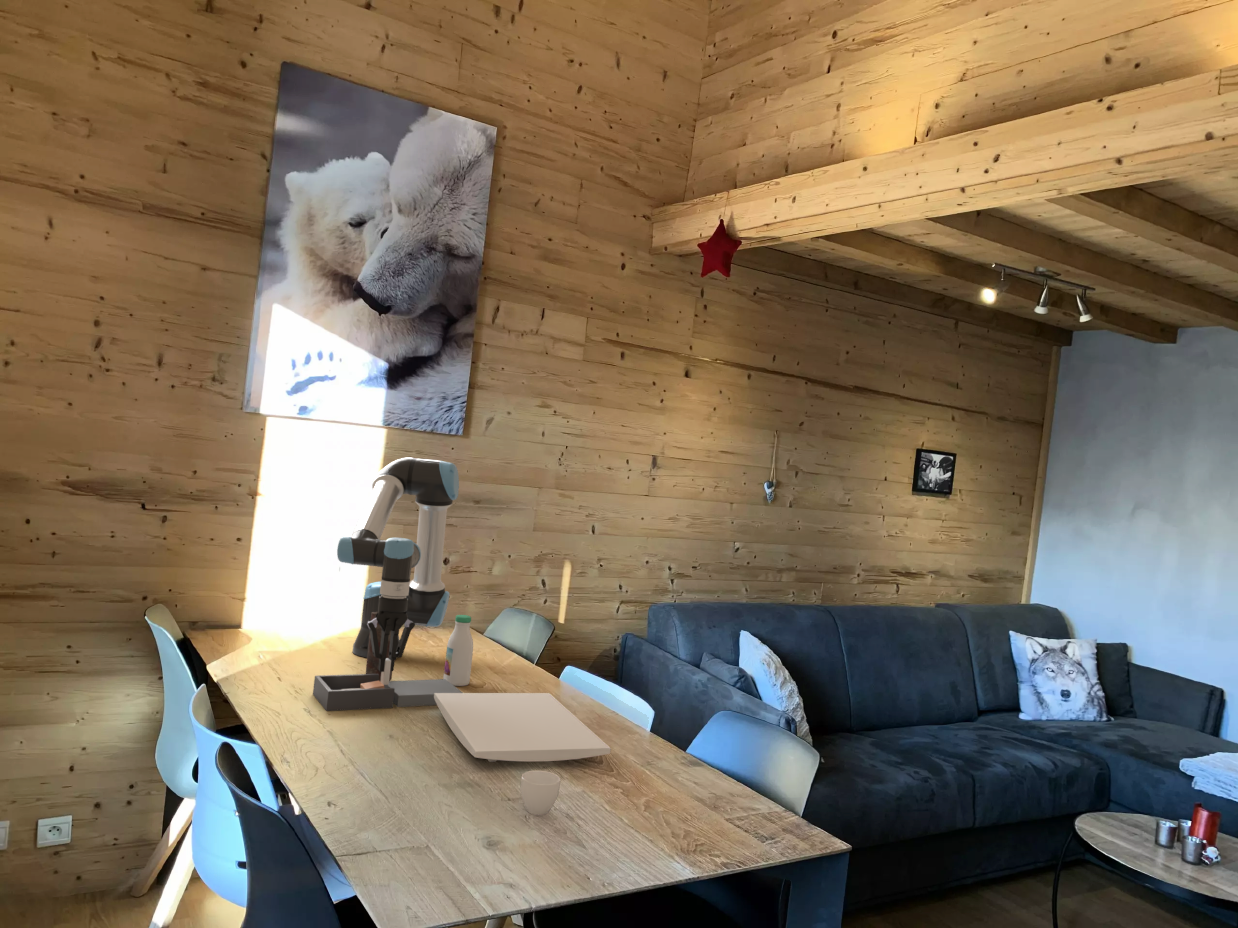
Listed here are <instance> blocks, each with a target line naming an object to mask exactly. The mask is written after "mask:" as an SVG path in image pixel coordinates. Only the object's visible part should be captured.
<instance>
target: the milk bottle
mask: <svg viewBox="0 0 1238 928" xmlns="http://www.w3.org/2000/svg"><path fill="white" fill-rule="evenodd" d="M454 621H455V622H454V623H455V626H454V629H453V631H452V633H451V634H450V636H449V638H448V641H447V645H446V651H445V661H444V669H443V679H446V680H447V681H448V682H450V683H451V684H452V685H454V686H455V687H464V686H468V685H469V684H470V680H471V674H472V673H471V672H472V664H473V663H472V662H473V654H474V653H473V652H474V640H473V639H474V638H473V636H472V633H471V628H470V625H472V623H471V622H472V617H471V616H470V615H468V614H467V615H466V614H456V615H455V620H454Z"/></svg>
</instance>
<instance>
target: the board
mask: <svg viewBox="0 0 1238 928" xmlns="http://www.w3.org/2000/svg"><path fill="white" fill-rule="evenodd" d="M434 699H435V701H436V704H437V705H436V706H437V707H438V709H439V711H440V712H441V715H442V717H443V718H444V721H445V722H446V723H447V725H448V726H449V728H450V730H451V731H452V733H453V735H455V737H456V738H457V739H458V741H459V742H460V743H461V744H462V745H463V747H464V748H465V749H466V750H467V751H468V752H469V753H470V754H471V755H472V757H474V758H478V759H486V760H488V762H491V763H495V762H497V761H507V762H508V761H509V762H553V761H554V762H555V761H556V762H557V761H567V760H569V761H570V760H579V759H587V758H592V757H598V756H603V755H604V756H605V755H609V754H611V749H612V748H611V747H610V746H609V745H608V744H607V743H606V742H604V740H603V739H602V738H600V737H599V736H598V735H597V734H596V733H595V732H594V731H593V730H591V729H590V728H589V727H588V726H587V725H586V724H584V723H583V722H582V721H581V720H580V719H579V718H578V717H577V716H576V715H574V713H572V712H571V711H570V710H569V709H568V708H567V707H565V705H563V704H562V703H561V701H559V700H558V699H557V698H555V697H554V696H553V695H552V694H551V693H549V692H463V693H434Z"/></svg>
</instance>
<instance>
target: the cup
mask: <svg viewBox="0 0 1238 928" xmlns="http://www.w3.org/2000/svg"><path fill="white" fill-rule="evenodd" d="M520 779H521V780H520V797H521V800H522V804H523V806H524V808H525V810H526V812H527V813H528V814H530V815H535V816H545V815H547V814H548V813H549V812H550V810H551V809H552V808H553V806H554V805H555V803H556V801H557V798H558V796H559V792H560V786H561V777H560V776H559V775H557V774H556V773H553V772H550V771H547V770H538V769H537V770H529V771H528V770H527V771H525V772H523V773H522V774H521V778H520Z"/></svg>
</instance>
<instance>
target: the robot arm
mask: <svg viewBox="0 0 1238 928" xmlns="http://www.w3.org/2000/svg"><path fill="white" fill-rule="evenodd" d="M459 476H460V475H459V471H458V467H457V466H456V464H455V463H453V462H449V461H443V460H437V459H427V458H414V457H402V458H399V459H395V460H394V461H391V462H390V463H389V464H387V465H386V466H384V467H383V468H382V469H380V470H379V472H378V473H377V474H376V476H375V478H374V479H373V481H372V482H373V483H372V492H371V494H370V496H369V498H368V501H367V503H366V505H365V507H364V508H363V511H362V513H361V515H360V518H359V519H358V521H357V524H356V526H355V528H354V530H353V533H352V535H343V536H341V537H340V538H339V541H338V544H337V549H336V550H337V551H336V553H337V555H336V556H337V560H338V561H339V562H341V563H345V564H350V565H359V566H370V567H378V568H382V571H381V572H382V573H381V579H380V580H381V581H375V582H370V583H368V584H367V585H366V586H365V592H364V595H363V605H362V613H361V623H360V624H361V625H360V630H359V631H358V634H357V636H356V638H355V640H354V643H353V646H352V653H353V654H354V655H355V656H358V657H362V658H367V654H368V645H369V634H370V637H371V645H372V652H373V655H374V656H375V657H376V658H379V667H378V669H379V671H380V672H381V681H380V682H381V683H382V684H383V685H389V677H390V671H392V672H393V671H394V670H395V661H397V659H398V658H402V657H403V656H404V655H403V654H404V652H405V649H406V646H407V644H408V640H409V638H410V634H411V632H412V631H413V629H414V627H415V626H422V627H435V628H436V627H439V626H441V625H442V623H443V621H444V620H445V619H444V618H445V616H446V613H447V610H448V605H449V601H450V592H449V591H448V590H446V584H445V582H443V581H442V572H443V571H442V570H443V559H444V548H445V536H446V523H447V514H448V509H449V508H450V507H451V506H453V501H456V500H457V499H458V497H459V488H460V480H459V479H460V478H459ZM403 495H410V496H415V499H414V500H415V501H414V503H415V504H417V506H418V507H419V509H418V524H417V536H416V542H414V541H413V540H412V539H410V538H404V537H389V538H387V539H381V537H382V535H383V533H384V530H385V528H386V526H387V523H388V521H389V518H390V517H391V513H393V509H394V507H395V505H396V503H397V500H399V499H400V498H402V497H403ZM413 568H414V570H413V571H414V574H413V579H411V574H412V569H413ZM372 612H378V613H377V614H376V616H375V619H373V620H371V613H372ZM377 622H378V624H379V625H380V627H381V628H382V629H381V633H382V635H381V644H380V653H379V645H378V638H377V631H376V627H377ZM403 626H404V628H403V630H402V633H401V635H399V634H400V630H401V628H402V627H403ZM390 631H391V638H390V647H389V658H386V655H387V646H388V637H389V634H390Z"/></svg>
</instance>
